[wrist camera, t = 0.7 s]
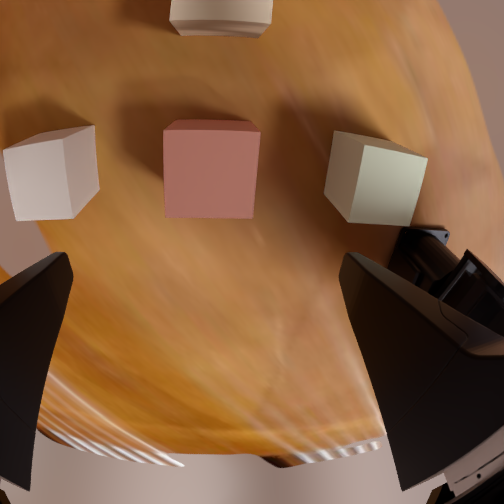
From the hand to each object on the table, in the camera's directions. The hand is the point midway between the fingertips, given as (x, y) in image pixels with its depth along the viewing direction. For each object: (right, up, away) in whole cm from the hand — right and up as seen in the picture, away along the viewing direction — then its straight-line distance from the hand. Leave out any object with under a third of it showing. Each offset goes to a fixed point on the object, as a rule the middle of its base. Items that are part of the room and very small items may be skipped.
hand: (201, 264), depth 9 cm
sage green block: (+10, +7, +12) cm, 17 cm away
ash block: (0, +16, +5) cm, 17 cm away
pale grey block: (-12, +7, +9) cm, 17 cm away
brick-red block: (-1, +7, +11) cm, 13 cm away
